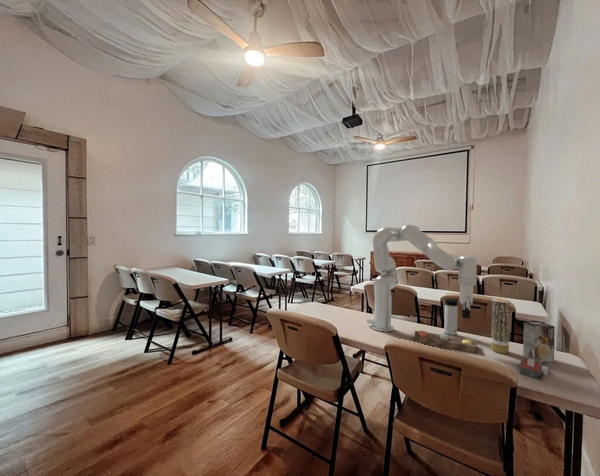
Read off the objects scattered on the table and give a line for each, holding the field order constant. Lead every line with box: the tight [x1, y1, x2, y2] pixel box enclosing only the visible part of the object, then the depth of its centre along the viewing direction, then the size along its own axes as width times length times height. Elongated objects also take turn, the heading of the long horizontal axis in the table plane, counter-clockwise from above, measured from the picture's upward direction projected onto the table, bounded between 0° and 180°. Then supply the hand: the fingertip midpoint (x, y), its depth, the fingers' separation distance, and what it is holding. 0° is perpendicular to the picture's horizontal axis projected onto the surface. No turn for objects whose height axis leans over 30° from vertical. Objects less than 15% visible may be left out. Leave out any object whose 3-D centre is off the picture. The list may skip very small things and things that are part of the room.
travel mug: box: [443, 298, 459, 337], centre depth 155 cm, size 6×7×20 cm
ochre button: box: [462, 340, 472, 344], centre depth 136 cm, size 4×4×3 cm
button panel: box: [413, 330, 479, 354], centre depth 140 cm, size 28×10×3 cm, turn 64°
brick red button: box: [417, 330, 428, 337], centre depth 145 cm, size 4×4×3 cm
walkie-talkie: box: [519, 358, 549, 380], centre depth 115 cm, size 9×4×20 cm
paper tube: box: [490, 297, 511, 355], centre depth 132 cm, size 7×7×25 cm
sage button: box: [439, 333, 449, 341], centre depth 140 cm, size 4×4×3 cm
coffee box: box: [522, 321, 555, 363], centre depth 125 cm, size 9×6×16 cm
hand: (466, 317), depth 136 cm, fingers closed
